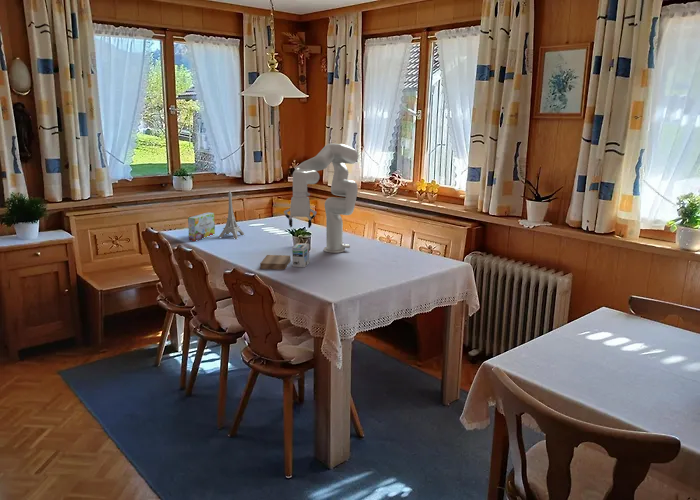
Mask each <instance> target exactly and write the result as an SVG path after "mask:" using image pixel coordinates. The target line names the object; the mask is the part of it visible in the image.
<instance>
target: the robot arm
mask: <svg viewBox="0 0 700 500" xmlns="http://www.w3.org/2000/svg"><path fill="white" fill-rule="evenodd" d="M358 153H359V152H358V151H357V149H355V148H353V147H351V146H349V145H347V144H343V143H327V144H325V145H324V147H323V148H322V149H320V151H319V152H318V153H317V154H316V155H315V156H314V157H311V158H309V159H307V160H304V161H302V162H301V163H300V164H298V166H296V167H295V169H294V171H293V172H292V197H291V199H290V208H288V209H285V210H284V211H283V214H284V216H285V217H286V218H287V219H288V226H289V227H290V228H292V227H293V217H295V218H296V217H297V218H298V217H301V218H307V219H308V222H307V223H308V224H307V228H308V229H310V228H311V227H312V220H313V219H314V218H315V217H316V215H317V210H314V209H312V208H311V203H310V198H309V196H311V193H310V192H308V185H315V184H317V183H318V182H319V180H320V173H319V171H323V170H325V169H326V168H328V167H329V165H330V164H332V167H333V176H332V180H331V186H330V193H331V194H332V195H334V196H331V197H328V198H326V200H324V211H325V218H326V220H325V221H326V226H325V227H326V229H325V231H326V243H325V244H326V247H324V248H323V251H324V252H326V253H331V254H338V253H344V252H345V251H346V249H350V248H351V245H350V244H348V243H347V244H346V243H345V244H344V241H343V239H344V238H343V234H344V231H343V227H344V226H343V218H342V216H351V215H352V214H353V213H354V210H355V206H356V202H357V201H356V200H357V197H358V191H359V190H358V184H357V182H356V181H354V180H350V179H348V178H349V169H348V167H347V166H346V164H350V165H351V164H352V165H353V164H355V163H356V162H357V161H358V159H359V154H358ZM335 196H336V197H335ZM337 196H339V197H337ZM344 197H345V198H344ZM288 212H290V215H289V214H288ZM311 214H312V215H311Z"/></svg>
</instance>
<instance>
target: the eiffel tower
mask: <svg viewBox="0 0 700 500" xmlns="http://www.w3.org/2000/svg"><path fill="white" fill-rule="evenodd" d="M227 197H228V209H227V211H228V213H227V217H226V222H225V225H224V227H223V228H222V229H223V230H222V231H221V233H220V234H219V236H218V237H223V238H224V235H225V234H229V233H230V234H232V236H233V239H234V238H235V239H234V240H238V239H237V238H239V237H238V233H239V235H244V234H245V233H244V231H243V230H242V229H241V228H240V226H238V223H237V221H236V217H235V215H234V208H233V201H232V200H233V199H232V197H233V194H232V192H231V190H228V194H227ZM230 234H229V235H230ZM244 236H245V235H244Z"/></svg>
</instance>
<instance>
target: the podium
mask: <svg viewBox="0 0 700 500" xmlns="http://www.w3.org/2000/svg"><path fill="white" fill-rule="evenodd" d="M290 262H291V255H288V254H287V255H285V254H284V255H283V254H282V255H280V254H278V255H277V254H266V256H265V257H264V258H263V259H262V261H260V263H259V265H260V266H259V267H260V268H259V269H260V270H284V269H285V270H286V268H287V267H288V266H287V265H289V264H290Z"/></svg>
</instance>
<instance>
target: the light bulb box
mask: <svg viewBox="0 0 700 500" xmlns="http://www.w3.org/2000/svg"><path fill="white" fill-rule="evenodd" d="M291 250H292V267H293V268H305V267H307V266H308V265H309V264H310V243H305V242H304V243H301V242H298V243H296V244H295V245H294V246H292V249H291Z"/></svg>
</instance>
